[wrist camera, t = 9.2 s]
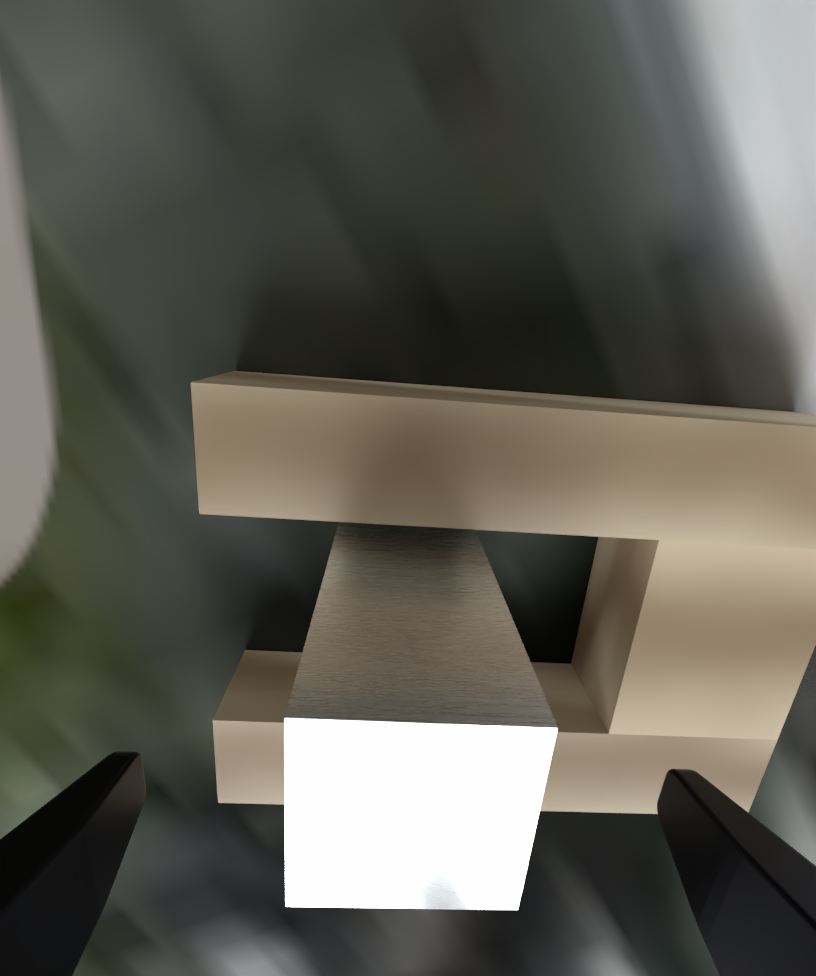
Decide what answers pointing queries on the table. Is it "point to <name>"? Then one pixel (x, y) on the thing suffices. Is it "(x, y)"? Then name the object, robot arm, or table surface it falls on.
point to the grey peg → (412, 731)
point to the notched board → (553, 510)
